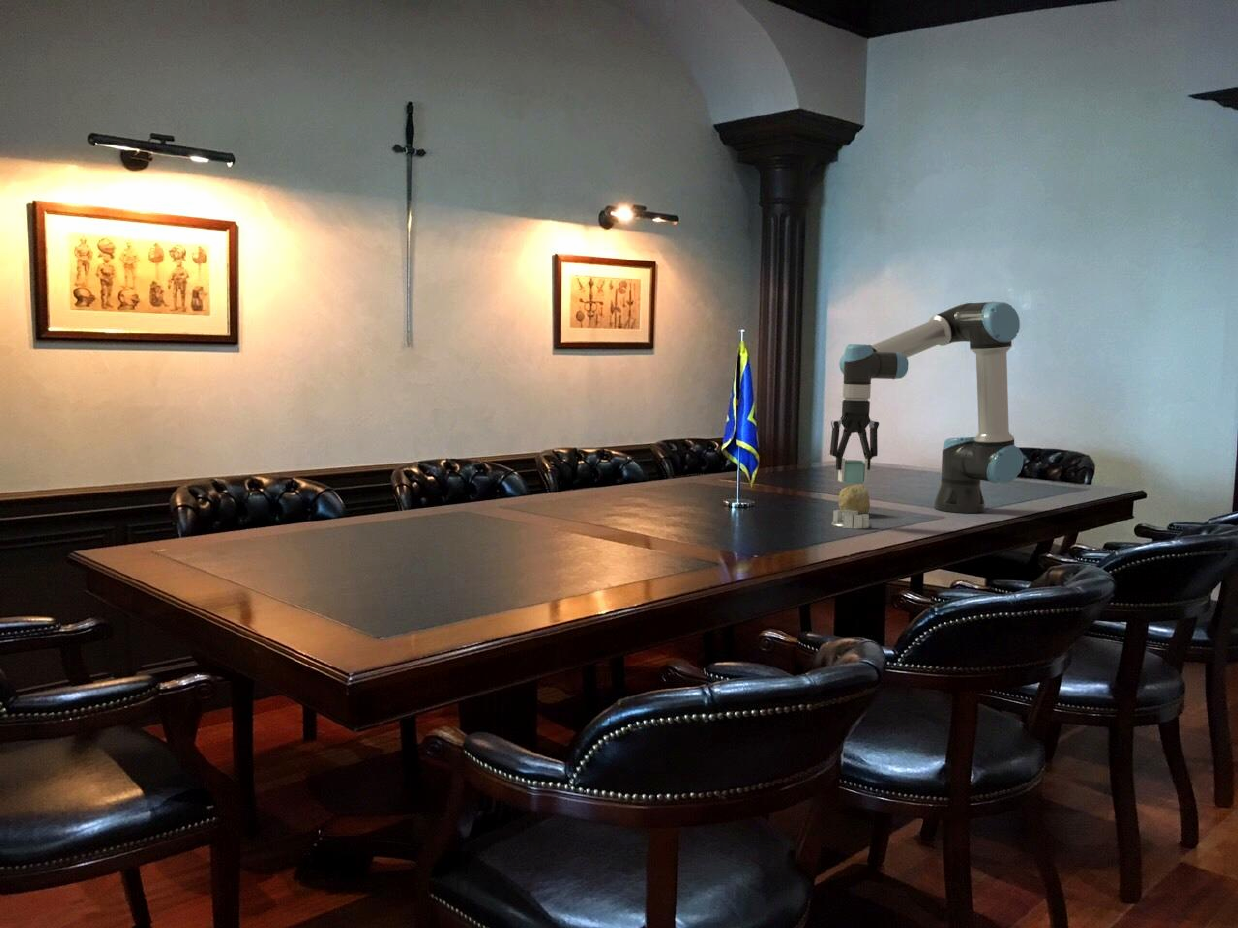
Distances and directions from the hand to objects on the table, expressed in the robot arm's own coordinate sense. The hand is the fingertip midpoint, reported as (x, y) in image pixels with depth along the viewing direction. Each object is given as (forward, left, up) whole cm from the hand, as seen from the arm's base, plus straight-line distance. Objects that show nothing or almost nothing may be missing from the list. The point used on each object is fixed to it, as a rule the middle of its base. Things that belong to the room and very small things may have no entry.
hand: (852, 481), depth 292 cm
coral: (-8, -18, -13) cm, 24 cm away
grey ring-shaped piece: (0, 0, -13) cm, 13 cm away
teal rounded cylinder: (0, 0, 0) cm, 0 cm away
